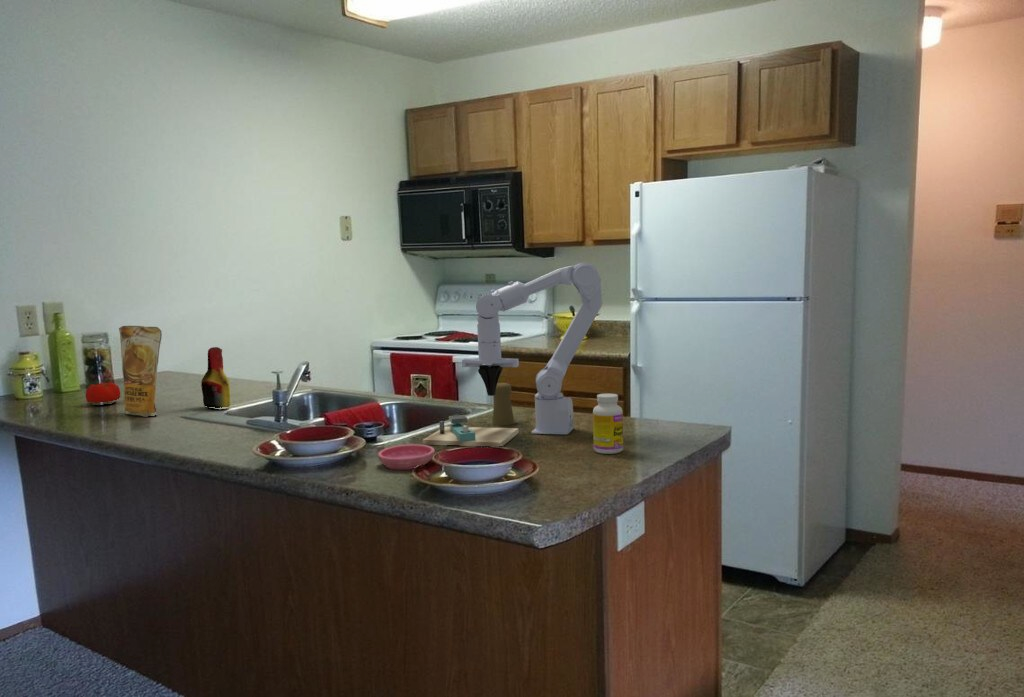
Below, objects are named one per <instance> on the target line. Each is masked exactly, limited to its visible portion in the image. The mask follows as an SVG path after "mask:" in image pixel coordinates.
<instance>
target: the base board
mask: <svg viewBox="0 0 1024 697" xmlns="http://www.w3.org/2000/svg"><path fill="white" fill-rule="evenodd" d="M444 429H445V433H444V434H440V429H438V430H437V431H435V432H434V433H432V434H430V435H428V436H427V437H425V438H423V439H422V445H427V446H447V445H460V446H459V447H476V446H502V447H504V445H506V444H507V443H508V442H510V441H511V440H512V439H513V438H514V437H516V436H517V435H518V434H519V433H520V432H519V428H516V427H514V428H513V427H509V428H508V427H483V426H482V427H480V426H478V427H475V426H474V427H473V426H468V430H470V429H472V430H473V431H474V432H475V440H469V441H459V440H458V439H457V438H456V435H455V434H454V433H453V432H451V431H450V426H444Z"/></svg>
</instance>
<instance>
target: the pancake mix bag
mask: <svg viewBox="0 0 1024 697" xmlns="http://www.w3.org/2000/svg"><path fill="white" fill-rule="evenodd" d="M118 330H119V337H120V352H121V353H120V354H121V372H122V376H123V377H122V379H123V384H124V385H123V387H124V388H123V389H124V390H123V391H124V412H125V411H129V412H137V413H155V412H156V410H157V408H156V403H155V398H156V389H157V388H156V386H157V376H158V365H159V357H160V356H159V355H160V347H161V344H162V343H161V342H162V337H163V336H162V329H160V328H159V327H158V326H143V325H142V326H141V325H122V326H120V327H118Z"/></svg>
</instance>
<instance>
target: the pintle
mask: <svg viewBox="0 0 1024 697" xmlns="http://www.w3.org/2000/svg"><path fill="white" fill-rule="evenodd" d="M462 427H463V433H468V432H469V431H468V427H469V425H468V424H466V425H465V424H464V425H463V426H462Z"/></svg>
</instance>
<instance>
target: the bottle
mask: <svg viewBox="0 0 1024 697" xmlns="http://www.w3.org/2000/svg"><path fill="white" fill-rule="evenodd" d="M200 384H201V385H200V386H201V393H202V398H203V399H202V402H203V406H204V407H205V406H207V407H215V408H220V407H221V408H222V407H229V406H230V407H231V384H230V380H229V379H228V377H227V375H226V374H225V372H224V359H223V348H220V347H218V346H214V347H213V346H212V347H210V348H208V350H207V371H206V372H205V374H204V376H202V379H201V382H200ZM230 407H229V408H230Z"/></svg>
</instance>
